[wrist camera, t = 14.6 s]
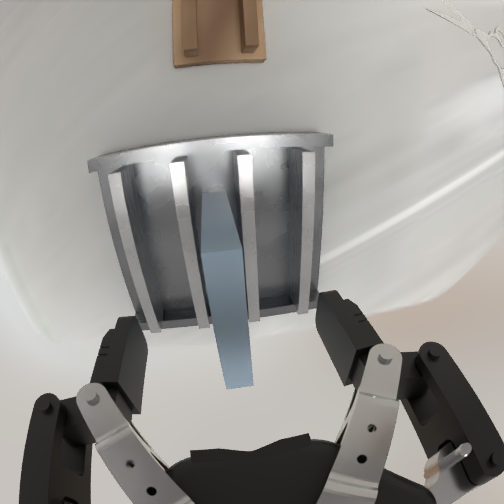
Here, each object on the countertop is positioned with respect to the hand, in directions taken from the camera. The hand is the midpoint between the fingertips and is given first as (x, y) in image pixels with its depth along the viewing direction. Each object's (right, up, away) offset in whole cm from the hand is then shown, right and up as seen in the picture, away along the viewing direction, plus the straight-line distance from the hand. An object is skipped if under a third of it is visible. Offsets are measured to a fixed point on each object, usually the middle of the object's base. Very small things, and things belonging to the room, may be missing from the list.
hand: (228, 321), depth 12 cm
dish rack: (-2, +5, +9) cm, 11 cm away
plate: (-1, +3, +9) cm, 10 cm away
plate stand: (-1, +21, +1) cm, 21 cm away
